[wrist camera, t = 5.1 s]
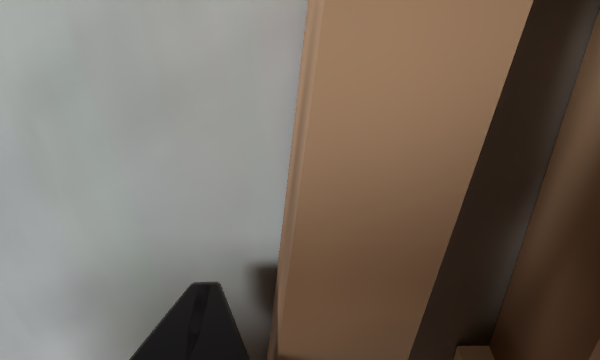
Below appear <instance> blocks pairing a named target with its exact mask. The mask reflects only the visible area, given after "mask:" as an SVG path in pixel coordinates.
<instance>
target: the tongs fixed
mask: <svg viewBox="0 0 600 360" xmlns="http://www.w3.org/2000/svg"><path fill="white" fill-rule="evenodd" d="M453 360H600V8H599V12H598V15H597V18H596V21H595V24H594V27H593V30H592V33H591V36H590V39H589V42H588V45H587V48H586V51H585V54H584V57H583V60H582V63H581V66H580V69H579V73H578V76H577V79H576V82H575V85H574V88H573V91H572V94H571V97H570V100H569V103H568V106H567V109H566V112H565V115H564V118H563V121H562V124H561V127H560V130H559V134H558V137H557V140H556V143H555V146H554V149H553V152H552V155H551V158H550V161H549V164H548V167H547V170H546V173H545V176H544V179H543V182H542V185H541V188H540V191H539V195H538V198H537V201H536V204H535V207H534V210H533V213H532V216H531V219H530V222H529V225H528V228H527V231H526V234H525V237H524V240H523V243H522V246H521V249H520V252H519V256H518V259H517V262H516V265H515V268H514V271H513V274H512V277H511V280H510V283H509V286H508V289H507V292H506V295H505V298H504V301H503V304H502V307H501V310H500V313H499V317H498V320H497V323H496V326H495V329H494V332H493V335H492V338H491V341H490V344H489V346H457V348H456V352H455V356H454V359H453Z"/></svg>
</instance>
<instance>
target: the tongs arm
mask: <svg viewBox="0 0 600 360" xmlns="http://www.w3.org/2000/svg"><path fill="white" fill-rule="evenodd" d="M532 3H533V0H308V7H307V16H306V24H305V33H304V42H303V51H302V59H301V68H300V77H299V86H298V94H297V103H296V112H295V120H294V129H293V138H292V147H291V155H290V164H289V173H288V181H287V190H286V199H285V208H284V216H283V225H282V234H281V243H280V251H279V260H278V269H277V277H276V286H275V295H274V304H273V312H272V321H271V330H270V338H269V347H268V356H267V360H408V358H409V355H410V352H411V349H412V346H413V343H414V340H415V338H416V335H417V332H418V329H419V326H420V323H421V320H422V318H423V315H424V312H425V309H426V306H427V303H428V300H429V298H430V295H431V292H432V289H433V286H434V283H435V280H436V278H437V275H438V272H439V269H440V266H441V263H442V260H443V258H444V255H445V252H446V249H447V246H448V243H449V240H450V237H451V235H452V232H453V229H454V226H455V223H456V220H457V217H458V215H459V212H460V209H461V206H462V203H463V200H464V197H465V195H466V192H467V189H468V186H469V183H470V180H471V177H472V175H473V172H474V169H475V166H476V163H477V160H478V157H479V155H480V152H481V149H482V146H483V143H484V140H485V137H486V135H487V132H488V129H489V126H490V123H491V120H492V117H493V115H494V112H495V109H496V106H497V103H498V100H499V97H500V95H501V92H502V89H503V86H504V83H505V80H506V77H507V75H508V72H509V69H510V66H511V63H512V60H513V57H514V54H515V52H516V49H517V46H518V43H519V40H520V37H521V34H522V32H523V29H524V26H525V23H526V20H527V17H528V14H529V12H530V9H531V6H532Z"/></svg>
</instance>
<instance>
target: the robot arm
mask: <svg viewBox="0 0 600 360" xmlns="http://www.w3.org/2000/svg"><path fill="white" fill-rule="evenodd" d="M129 360H250V359H249V356H248V354H247V351H246V349H245V346H244V344H243V341H242V338H241V336H240V333H239V331H238V328H237V326H236V323H235V320H234V318H233V315H232V313H231V310H230V308H229V305H228V302H227V300H226V297H225V295H224V292H223V290H222V287H221V285H220V283H218V282H196V283H193V284H191V285H190V286H189V287H188V288H187V290H186V291H185V292H184V293H183V295H182V296H181V297H180V298H179V299H178V301H177V302H176V303H175V304H174V306H173V307H172V308H171V309H170V310H169V312H168V313H167V314H166V315H165V317H164V318H163V319H162V320H161V322H160V323H159V324H158V325H157V326H156V328H155V329H154V330H153V331H152V333H151V334H150V335H149V336H148V337H147V339H146V340H145V341H144V342H143V344H142V345H141V346H140V347H139V348H138V350H137V351H136V352H135V353H134V355H133V356H132V357H131V358H130V359H129Z"/></svg>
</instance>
